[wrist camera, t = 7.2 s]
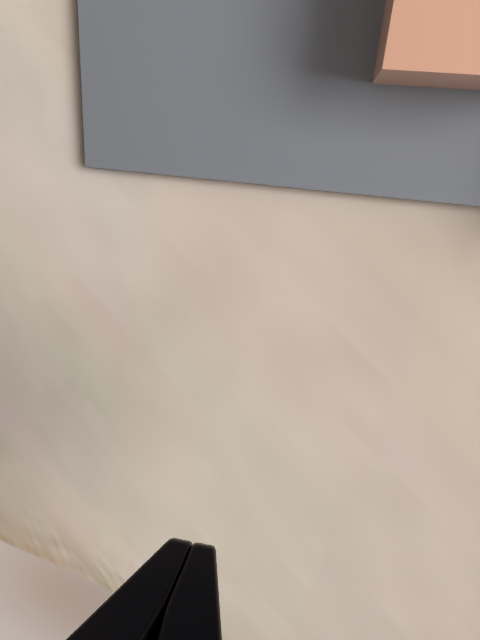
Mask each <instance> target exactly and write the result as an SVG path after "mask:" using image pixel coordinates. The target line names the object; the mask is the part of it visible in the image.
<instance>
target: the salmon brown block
mask: <svg viewBox="0 0 480 640" xmlns="http://www.w3.org/2000/svg"><path fill="white" fill-rule="evenodd" d="M372 83H373V84H388V85H404V86H419V87H435V88H450V89H466V90H480V0H386V3H385V9H384V15H383V21H382V27H381V33H380V39H379V44H378V50H377V56H376V62H375V68H374V74H373V80H372Z"/></svg>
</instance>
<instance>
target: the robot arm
mask: <svg viewBox="0 0 480 640" xmlns="http://www.w3.org/2000/svg"><path fill="white" fill-rule="evenodd" d="M66 640H222V634H221V620H220V605H219V591H218V577H217V563H216V550H215V547H214V546H212V545H207V544H202V543H194V544H192V543H191V542H190V541H187V540H182V539H177V538H172V539H170V540H168V541H167V542H166V543H165V544H164V545H163V546H162V547H161V548H160V549H159V550H158V551H157V552H156V553H155V554H154V555H153V556H152V557H151V558H150V559H149V560H148V561H147V562H145V563H144V564H143V565H142V566H141V567H140V568H139V569H138V570H137V571H136V572H135V573H134V574H133V575H132V576H131V577H130V578H129V579H128V580H127V581H126V582H125V583H124V584H123V585H122V586H121V587H120V588H119V589H118V590H117V591H116V592H115V593H114V594H113V595H112V596H111V597H110V598H108V600H106V602H104V603H103V604H102V605H101V606H100V607H99V608H98V609H97V610H96V611H95V612H94V613H93V614H92V615H91V616H90V617H89V618H88V619H87V620H86V621H85V622H84V623H83V624H82V625H81V626H80V627H79V628H78V629H77V630H76V631H75V632H74V633H73V634H71V635H70V636H69V637H68V638H67V639H66Z"/></svg>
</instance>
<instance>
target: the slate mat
mask: <svg viewBox="0 0 480 640" xmlns="http://www.w3.org/2000/svg"><path fill="white" fill-rule="evenodd" d="M77 3H78V24H79V45H80V67H81V88H82V109H83V131H84V152H85V167H93V168H103V169H113V170H123V171H133V172H143V173H153V174H163V175H173V176H182V177H192V178H202V179H212V180H222V181H232V182H242V183H252V184H262V185H272V186H282V187H292V188H301V189H311V190H321V191H331V192H341V193H351V194H361V195H371V196H381V197H391V198H401V199H411V200H421V201H430V202H440V203H450V204H460V205H470V206H480V90H466V89H450V88H435V87H419V86H404V85H388V84H373V83H372V80H373V74H374V68H375V62H376V56H377V50H378V44H379V39H380V33H381V27H382V21H383V15H384V9H385V3H386V0H77Z"/></svg>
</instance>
